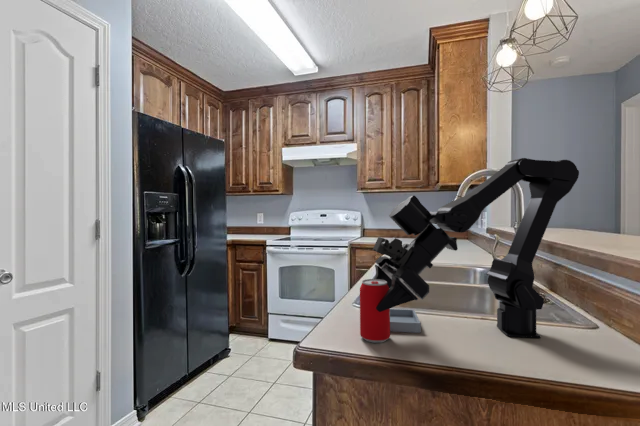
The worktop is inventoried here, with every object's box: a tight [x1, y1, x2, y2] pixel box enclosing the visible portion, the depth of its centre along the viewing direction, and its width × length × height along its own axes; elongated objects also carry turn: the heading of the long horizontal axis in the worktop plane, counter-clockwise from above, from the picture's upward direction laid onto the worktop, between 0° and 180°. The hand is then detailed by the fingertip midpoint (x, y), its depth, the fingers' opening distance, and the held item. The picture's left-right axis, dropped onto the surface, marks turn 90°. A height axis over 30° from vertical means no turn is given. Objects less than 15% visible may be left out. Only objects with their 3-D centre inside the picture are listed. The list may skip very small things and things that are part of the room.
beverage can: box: [359, 278, 391, 344], centre depth 68 cm, size 6×6×12 cm
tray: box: [390, 308, 422, 334], centre depth 77 cm, size 10×10×2 cm
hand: (371, 303), depth 68 cm, fingers open, 9 cm apart
